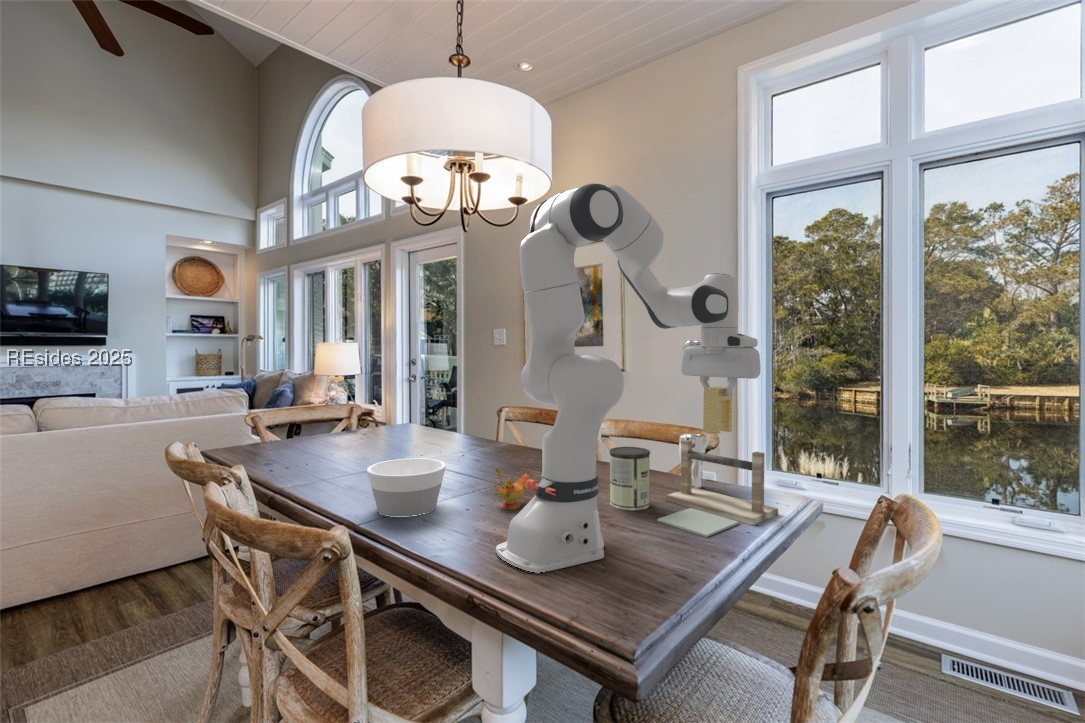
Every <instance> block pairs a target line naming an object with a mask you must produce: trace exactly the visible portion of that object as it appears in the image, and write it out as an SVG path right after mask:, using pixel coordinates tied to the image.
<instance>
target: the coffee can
mask: <svg viewBox="0 0 1085 723" xmlns="http://www.w3.org/2000/svg"><path fill="white" fill-rule="evenodd" d="M608 452H609V505H610V506H611V507H612V508H615V509H618V510H623V511H643V510H647V509H648V508H649V507H650V506H651V505H650V504H651V503H650V495H651V494H650V473H651V472H650V454H651V450H649V449H647V448H644V447H638V446H617V447H612V448H610V449H609V451H608Z"/></svg>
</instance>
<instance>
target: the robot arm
mask: <svg viewBox="0 0 1085 723" xmlns="http://www.w3.org/2000/svg"><path fill="white" fill-rule="evenodd" d="M664 238H665V237H664V232H663V230H662V228H661V226H660V224H659V223H658V222H657V220H656V219H655V218H654V217H653V215H652V214H651V213H650V212H649V210H648V209H646V208H645V206H644V205H643V204H642V203H641V202H640V201H639V200H638V199H636V198H635V197H634V195H632V194H631V193H630V192H628V191H627V190H626V189H624V188H623V187H622V186H619V185H616V184H610V185H605V184H601V183H588V184H587V183H586V184H583V185H580V186H579V187H578V188H577V187H576V188H572V189H571V190H570V189H569V190H564V191H562V192H560V193H558V194H555V195H554V196H552V197H550V198H548V199H545V200H544V201H542V202H541V203H540V204H538V206H536V208H535V209H534V211H533V212H532V214H531V217H530V222H529V232H528V235H527V236H526V237H525V238H524V239H522V240H521V243H520V246H519V270H520V278H521V284H522V285H521V286H522V291H523V296H524V301H525V306H526V312H527V316H528V323H529V328H530V330H529V331H530V347H529V354H528V358H527V361H526V362H525V364H524V366H523V368H522V370H521V373H520V385H521V388H522V391H523V393H524V394H525V396H527V397H528V398H529V399H532V400H533V401H535V402H537V403H540V404H541V405H545V406H550V407H557V414H556V418H555V421H554V424H553V426H552V428H551V429H550V430H548V431H547V432H545V434H544V435H543V438H542V442H541V444H542V445H541V446H542V450H541V451H542V452H541V453H542V454H541V455H542V457H541V458H542V459H541V461H542V462H541V464H542V465H541V467H542V468H541V469H542V473H541V475H540V477H539V480H538V481H537V480H533V479H532V478H531V479H530V478H529V479H528V480H527V482H526V487H525V489H527V490H530V491H533V492H534V494H535V495H534V496H533V497H532V498H531V499H530V500H529V501H528V502H527V504H525V506H524V507H523V508H522V509H521V510H520V511H519V512H518V513H517V514H516V515H515V516H514V517H512V519H511V521H510V523H509V526H508V531H507V538H506V541H504V542H501V543H499V544H497V545H496V546H495V554H496V553H497V555H498V556H499V557H500V558H501V559H502V560H501V559H500V558H499V557H498V556H497V555H496V556H497V557H498V558H499V559H500V560H501V561H503V560H504V561H506V562H507V563H509V564H511V565H513V566H515V567H518V568H521V569H523V570H526V571H525V572H527V571H530V572H529V573H531V572H535V573H534V574H541V573H540V572H543V573H547V572H552V571H555V570H560V569H563V568H569V567H572V566H577V565H582V564H585V563H588V562H589V563H590V562H593V561H597V560H601V559H604V558H605V550H604V548H605V541H604V538H603V535H602V531H601V523H600V514H599V509H598V508H599V507H598V500H597V499H598V498H597V496H598V495H599V486H600V485H599V476H598V475H597V453H598V452H597V450H598V438H599V433H600V430H601V427H602V425H603V422H604V419H605V418H606V416H607V414H608V412H609V411H610V410H611V409H613V408H614V407H615V406H616V405H617V404H618V403H619V402H620V400H621V399H622V395H623V393H624V388H625V378H624V375H623V371H622V369H621V367H620V366H619V365H618V364H617V363H616V362H615V361H613V360H611V359H609V358H605V357H603V356H599V355H595V354H576V350H575V345H576V344H575V342H576V335H577V334H578V332H579V331H580V330H581V329H582V327H583V326H584V323H585V320H586V319H585V318H586V315H585V310H584V305H583V299H582V294H581V293H582V292H581V287H580V284H579V277H578V272H577V268H576V265H575V254H576V250H577V248H579V247H583V246H586V245H589V244H592V243H594V242H598V241H603V242H604V243H605V245H607V247H608V248H609V249H610V250H611V252H613V254H614V255H615V256H616V258H617V265H618V268H619V270H620V272H621V274H622V275H623V277H624V278H625V280H626V281H627V283H628V284H629V285H630V286H631V288H632V289H633V291H634V292H635V294H636V295H637V296H638V297H639V298H638V299H640V300H641V302H642V303H643V305H644V306H645V308H646V310H647V312H648V315H649V318H650V320H651V321H652V322H653V324H655V326H657V327H658V328H660V329H665V330H666V329H672V328H679V327H680V328H681V327H693V326H694V327H695V326H700V334H699V335H700V338H699V339H700V340H687V342H685V344H683V346H682V355H681V356H682V357H681V365H680V372H681V374H682V376H685V377H686V376H688V377H691V376H692V377H699V382H700V383H701V385H702V388H703V389H704V388H709V387H711V386H710V384H709V382H708V381H710V378H727V379H726V380H727V383H728V385H727V389H723V392H724V393H723V395H724V396H732V397H733V389H735V387H736V385H737V383H738V379H748V380H751V379H752V380H753V379H757V378H758V377H760V375H761V356H760V353H759V350H758V349H757V347H758V345H759V344H758V343H759V340H758V339H757V338H755V337H752V336H748V335H746V334H742V333H740V332H739V325H738V321H737V317H738V312H739V291H738V284H737V281H736V279H735V278H734V276H732V275H729V274H726V273H719V272H718V273H717V272H716V273H710V274H707V275H705V276H704V278H703V280H701V281H700V282H697V283H695V284H693V285H690V286H683V287H682V286H681V287H676V288H675V287H674V288H673V287H666V286H664V285H662V284H661V283H660V281H659V280H658V279H657V277H656V276H655V274H654V273H653V271H652V270H651V268H650V266H651V265H652V264H653V263H654V262H655V261H656V259H657V258H658V257H659V255H660V254H661V252H662V249H663V246H664ZM504 561H503V562H504ZM506 562H505V563H506ZM507 563H506V564H507ZM509 564H508V565H509ZM511 565H510V566H511ZM513 566H512V567H513ZM515 567H514V568H515ZM523 570H522V571H523ZM546 571H547V572H546Z"/></svg>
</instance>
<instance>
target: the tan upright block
mask: <svg viewBox="0 0 1085 723" xmlns="http://www.w3.org/2000/svg"><path fill="white" fill-rule="evenodd" d="M727 387H728V386H727ZM727 387H725V386H715V387H713V386H712V387H711V386H710V387H709V388H704V387H703V411H702V412H703V418H702V419H703V420H702V422H703V423H702V427H703V428H702V432H703V433H709V434H716V435H720V434H721V432H726V433H727V432H728V433H731V432H733V431H732V430H733V428H732V427H733V395H732V396H724V395H723V393H724V392H723V389H727Z"/></svg>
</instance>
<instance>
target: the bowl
mask: <svg viewBox="0 0 1085 723" xmlns="http://www.w3.org/2000/svg"><path fill="white" fill-rule="evenodd" d="M446 467H447V465H446V463H445V462H444V461H441V460H438V459H433V458H424V457H423V458H421V457H420V458H419V457H416V458H413V457H412V458H411V457H410V458H409V457H408V458H397V459H396V458H395V459H391V460H384V461H380V462H377V463H374V464H372V465H369V466H368V467H367V468H366V472H367V476H368V480H369V484H370V487H371V490H372V494H373V498H374V501H375V505H376V510H377V512H379V513H381V514H384V515H389V516H412V515H419V514H423V513H427V512H429V513H431V512H433V511H434V510H435V509H436V508H435V507H437V503H438V500H439V496H440V491H441V487H442V483H443V480H444V476H445V473H446V472H445V471H446ZM433 509H434V510H433ZM432 510H433V511H432ZM430 511H431V512H430ZM381 514H380V515H381ZM427 514H428V513H427Z"/></svg>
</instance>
